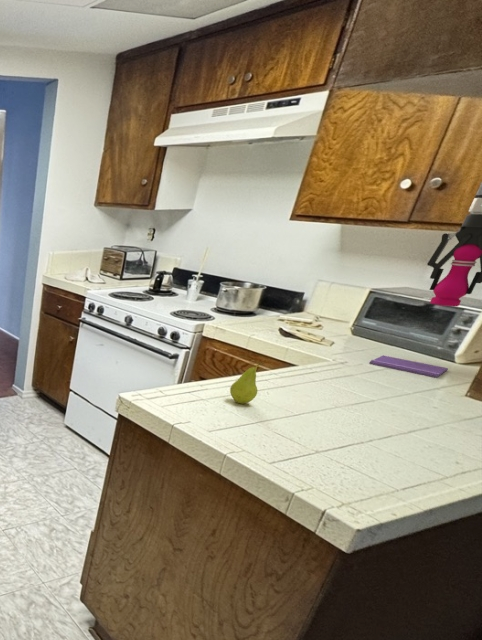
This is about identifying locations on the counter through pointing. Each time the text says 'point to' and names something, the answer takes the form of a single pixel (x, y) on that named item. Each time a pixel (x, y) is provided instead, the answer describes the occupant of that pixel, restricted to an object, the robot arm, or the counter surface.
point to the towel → (409, 366)
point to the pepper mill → (456, 277)
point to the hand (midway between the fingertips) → (449, 291)
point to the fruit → (245, 386)
